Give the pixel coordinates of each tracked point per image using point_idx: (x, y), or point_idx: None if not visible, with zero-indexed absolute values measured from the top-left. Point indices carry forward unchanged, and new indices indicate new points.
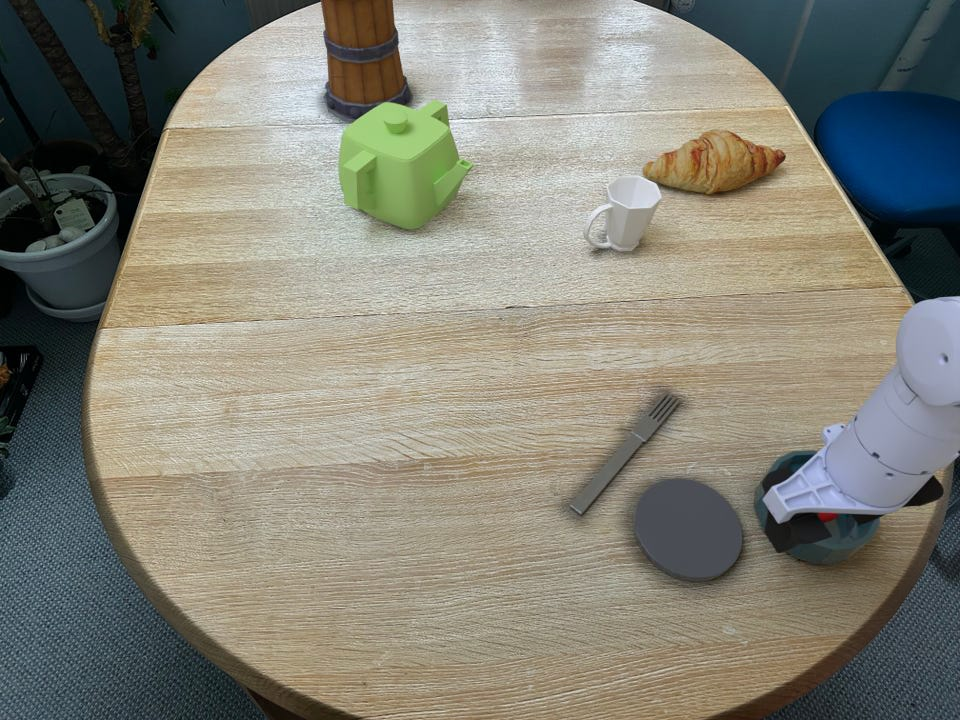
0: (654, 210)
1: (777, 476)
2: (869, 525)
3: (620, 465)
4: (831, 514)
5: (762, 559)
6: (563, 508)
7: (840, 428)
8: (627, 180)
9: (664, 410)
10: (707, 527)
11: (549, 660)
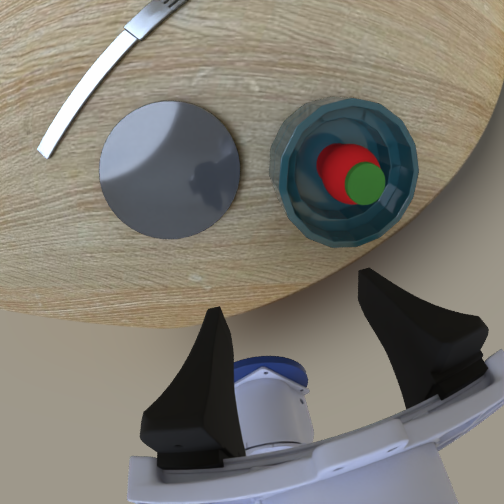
0: None
1: (168, 437)
2: (389, 211)
3: (96, 82)
4: (354, 204)
5: (257, 210)
6: (35, 150)
7: (381, 454)
8: None
9: None
10: (191, 177)
11: (46, 290)
